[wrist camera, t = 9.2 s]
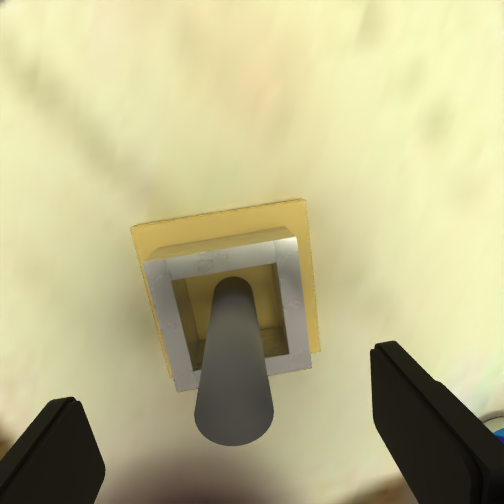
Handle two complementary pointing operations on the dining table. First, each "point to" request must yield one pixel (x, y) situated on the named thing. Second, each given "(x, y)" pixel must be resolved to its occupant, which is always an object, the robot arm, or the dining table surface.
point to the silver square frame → (219, 260)
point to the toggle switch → (234, 316)
